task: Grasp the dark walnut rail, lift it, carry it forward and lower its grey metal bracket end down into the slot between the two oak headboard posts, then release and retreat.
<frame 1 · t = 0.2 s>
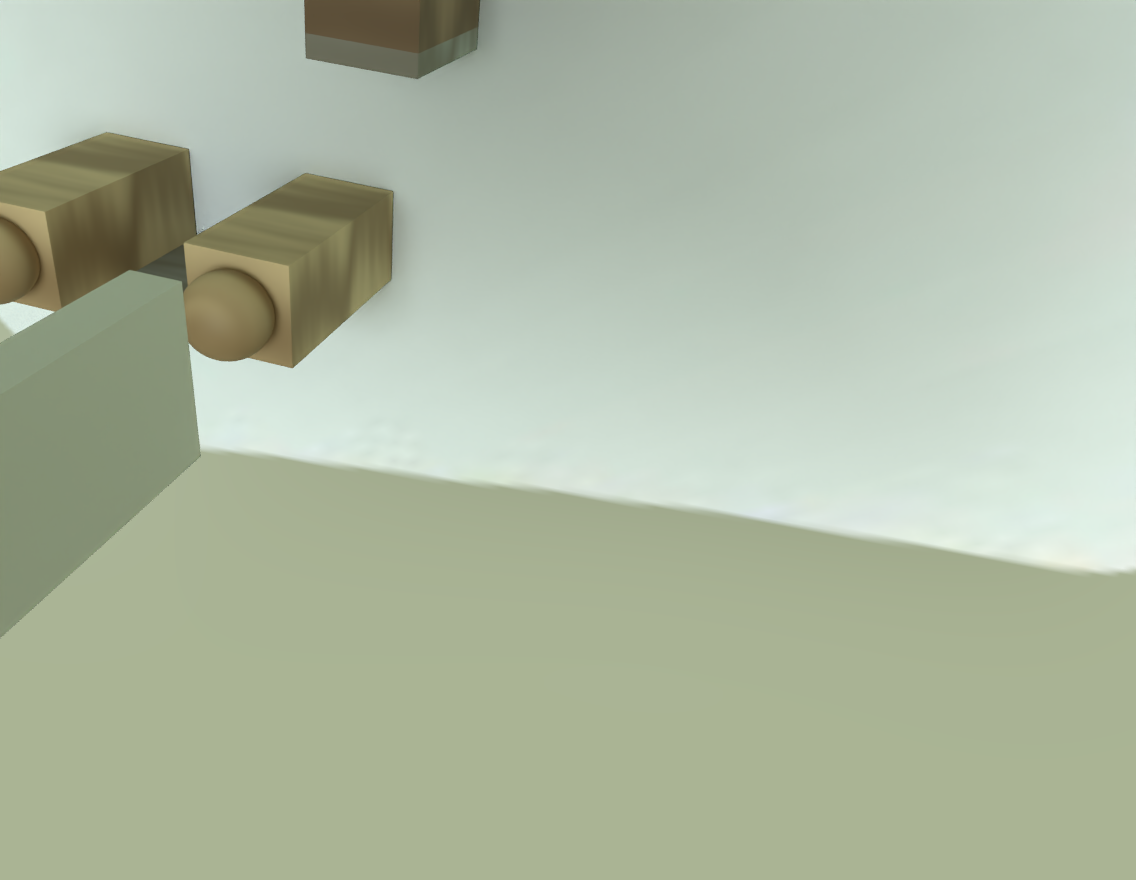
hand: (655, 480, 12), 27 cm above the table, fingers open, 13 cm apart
headboard: (249, 206, 43), on the table
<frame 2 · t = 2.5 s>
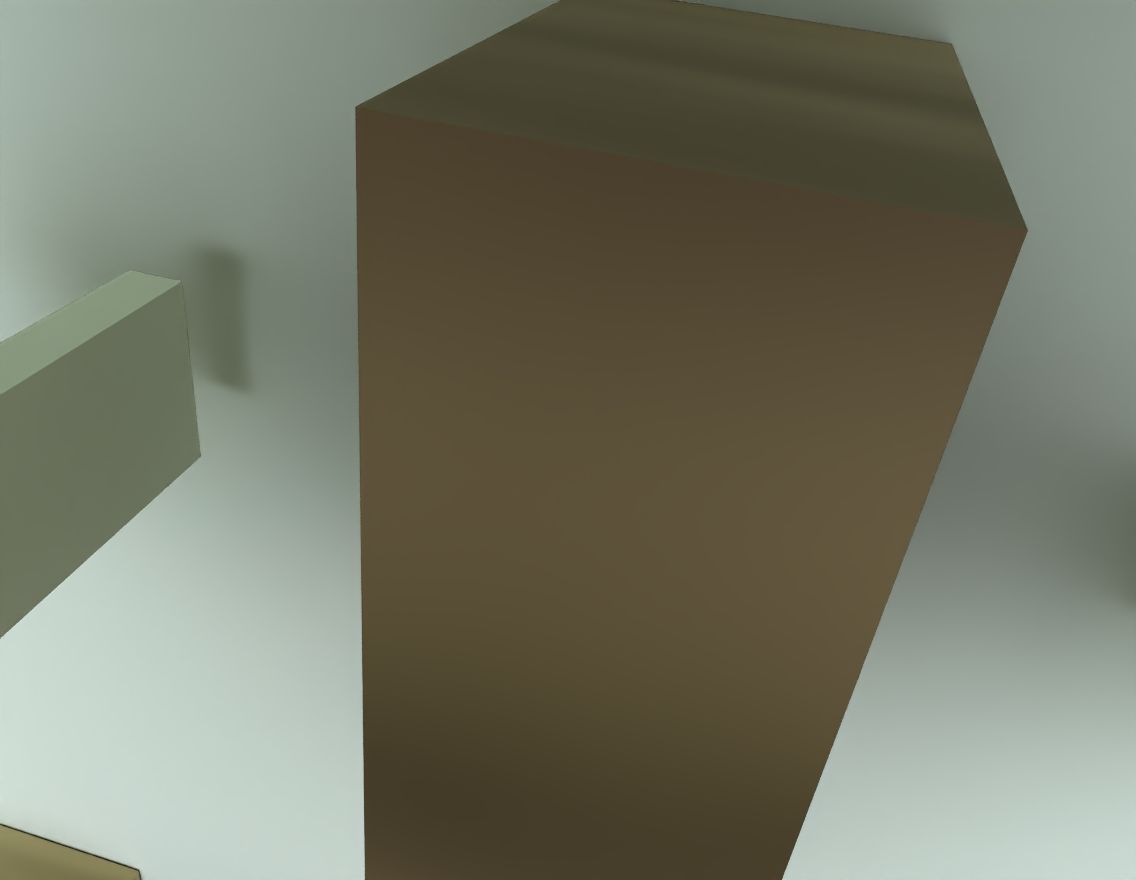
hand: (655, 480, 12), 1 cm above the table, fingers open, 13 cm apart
rail: (662, 521, 14), on the table
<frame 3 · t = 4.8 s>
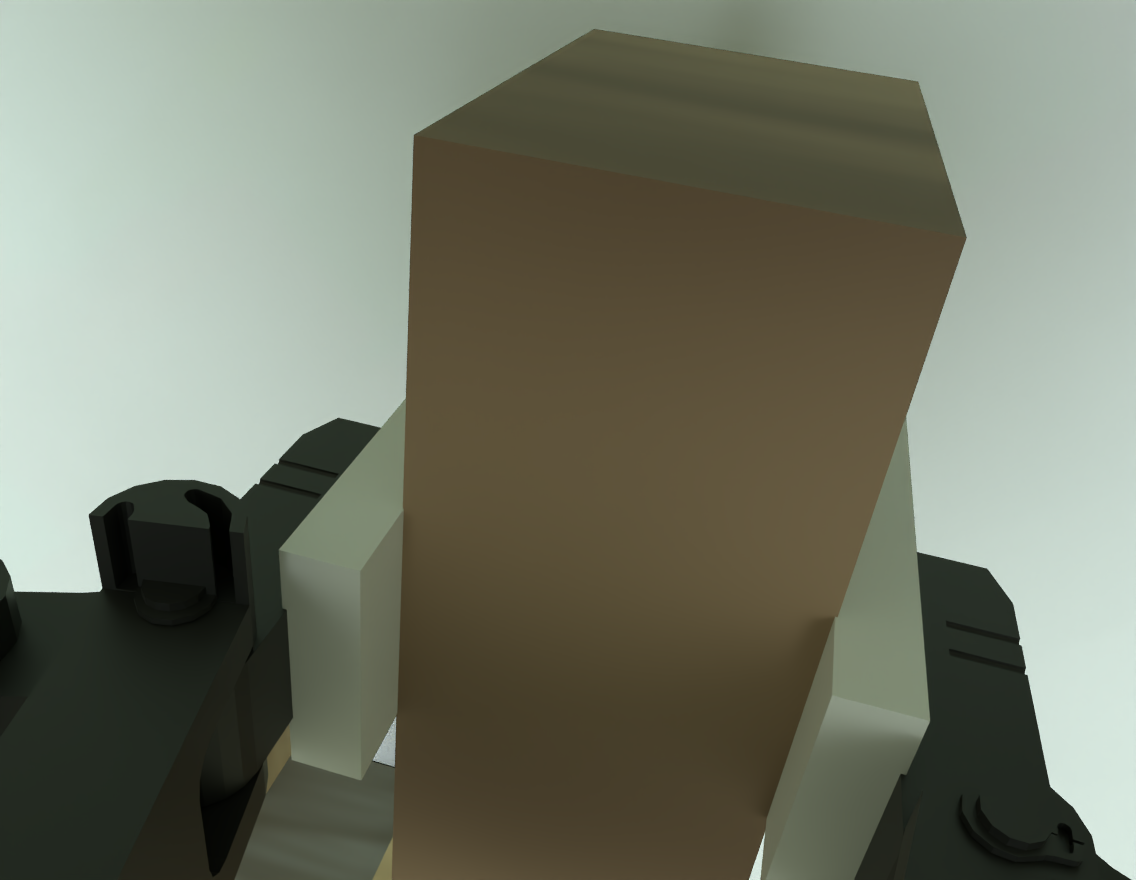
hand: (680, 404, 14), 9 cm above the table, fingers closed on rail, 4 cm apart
headboard: (375, 720, 32), on the table
rail: (660, 515, 16), point 8 cm above the table, touching gripper
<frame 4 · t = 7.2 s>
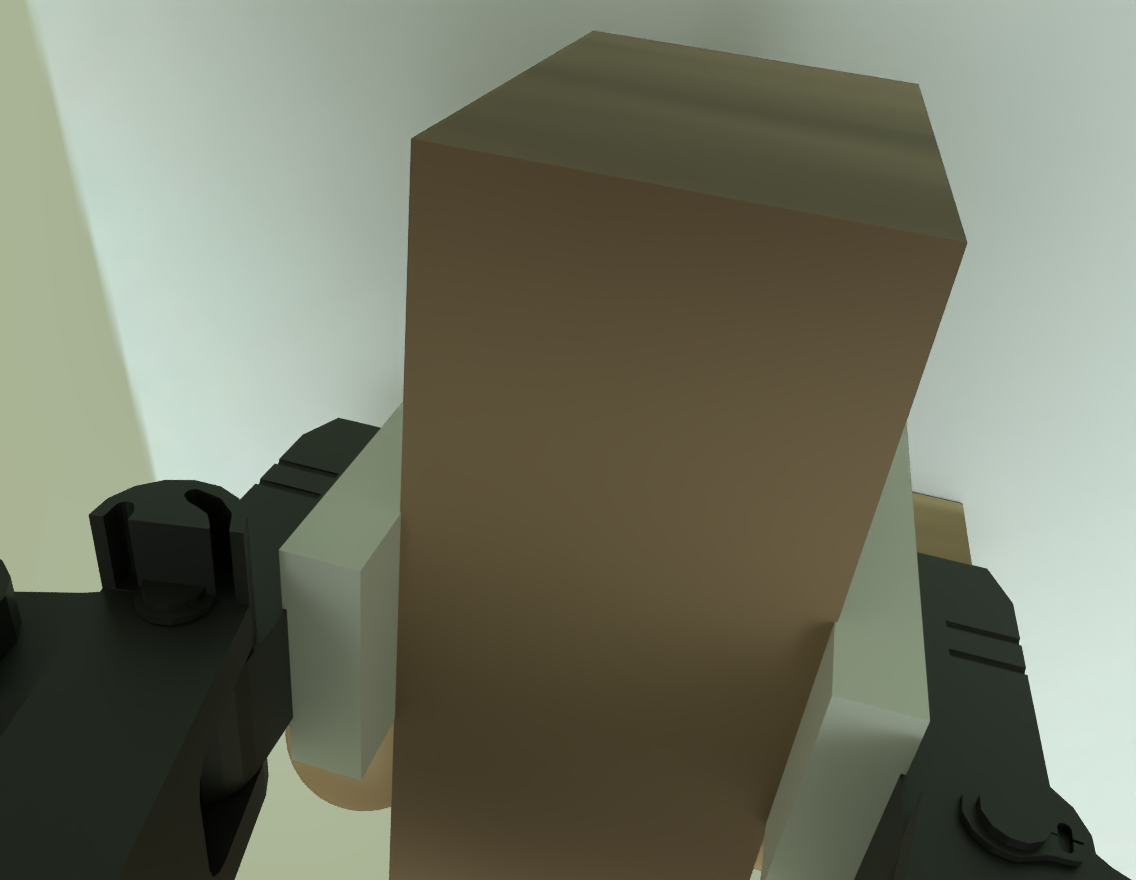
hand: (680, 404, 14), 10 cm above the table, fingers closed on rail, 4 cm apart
headboard: (683, 504, 27), on the table
rail: (659, 518, 16), point 9 cm above the table, touching gripper
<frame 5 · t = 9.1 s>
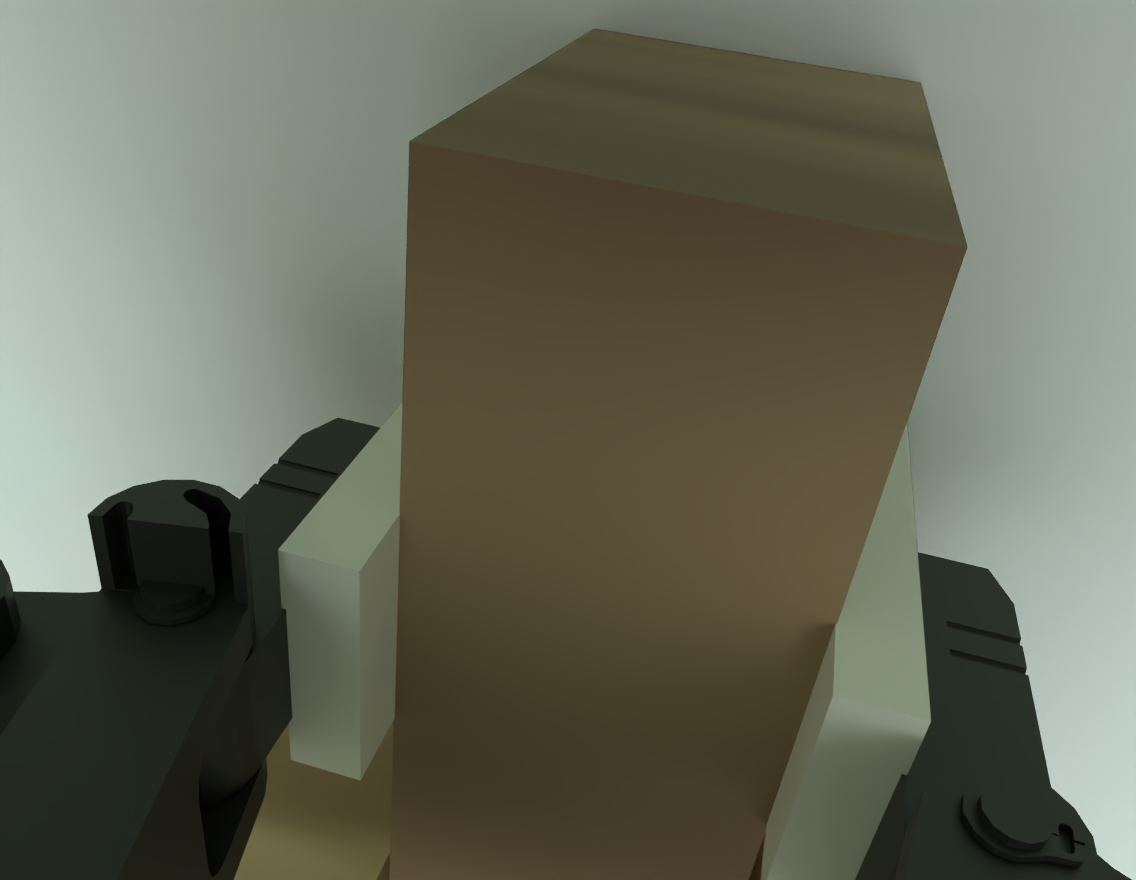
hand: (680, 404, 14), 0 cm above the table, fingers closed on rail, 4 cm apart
headboard: (609, 770, 19), on the table
rail: (660, 516, 16), on the table, touching gripper
when the fingers open (0 cm above the table, at t = 9.8 s): rail stays where it is, on the table.
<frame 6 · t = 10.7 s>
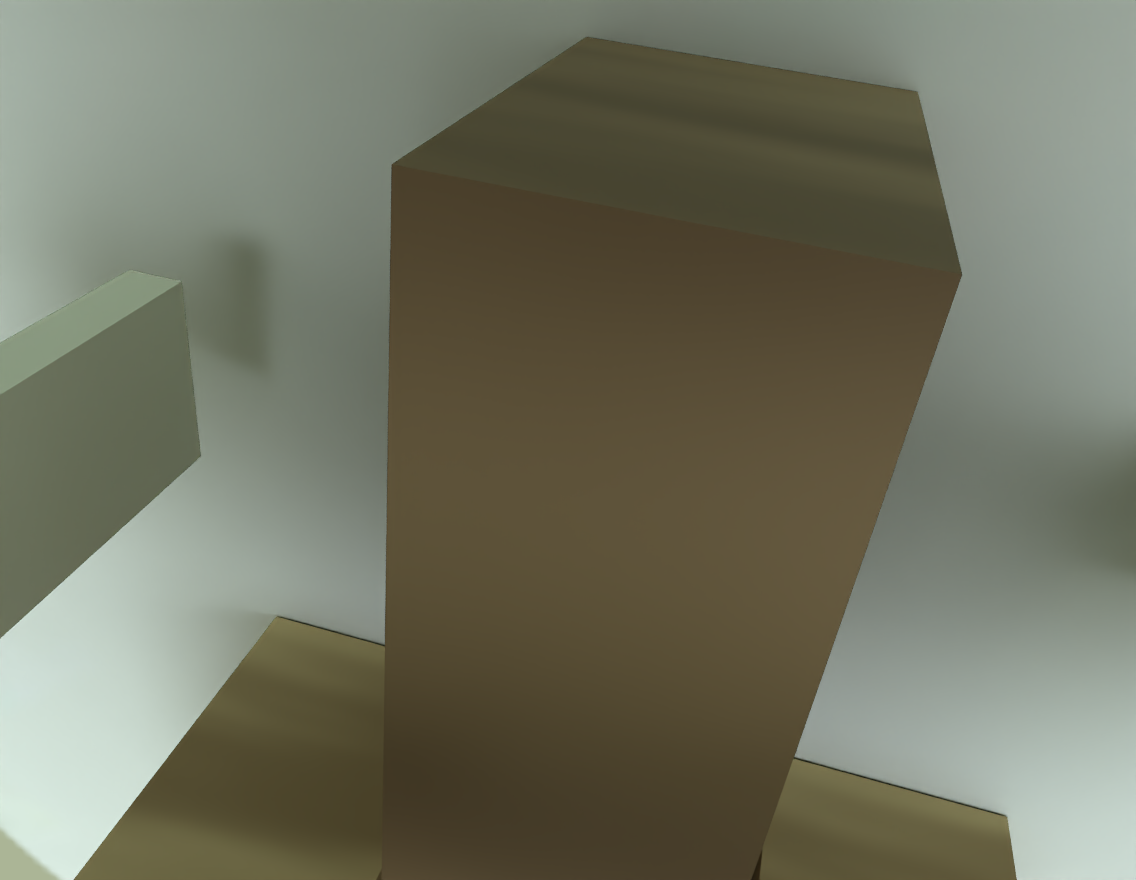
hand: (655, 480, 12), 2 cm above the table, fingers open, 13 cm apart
headboard: (605, 783, 19), on the table
rail: (655, 527, 15), on the table
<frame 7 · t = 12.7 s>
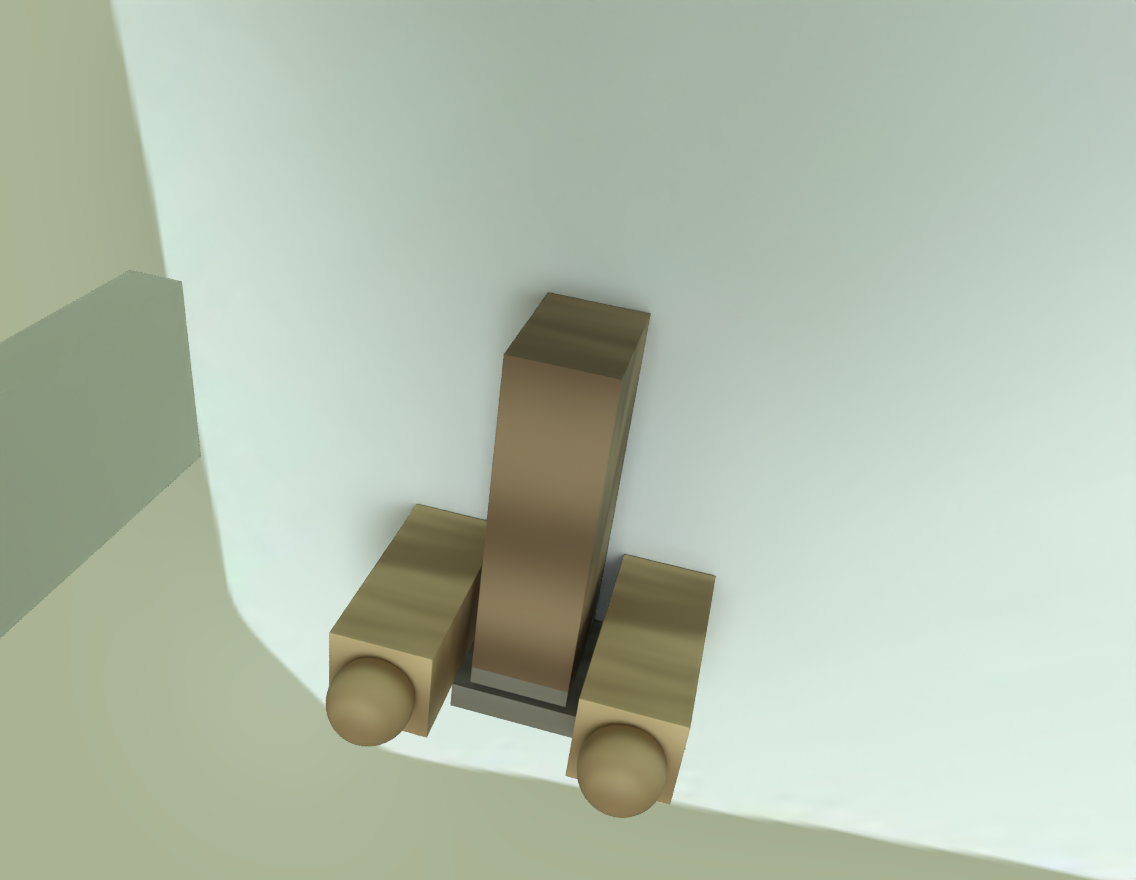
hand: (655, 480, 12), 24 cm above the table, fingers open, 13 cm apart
headboard: (557, 575, 44), on the table
rail: (575, 458, 41), on the table
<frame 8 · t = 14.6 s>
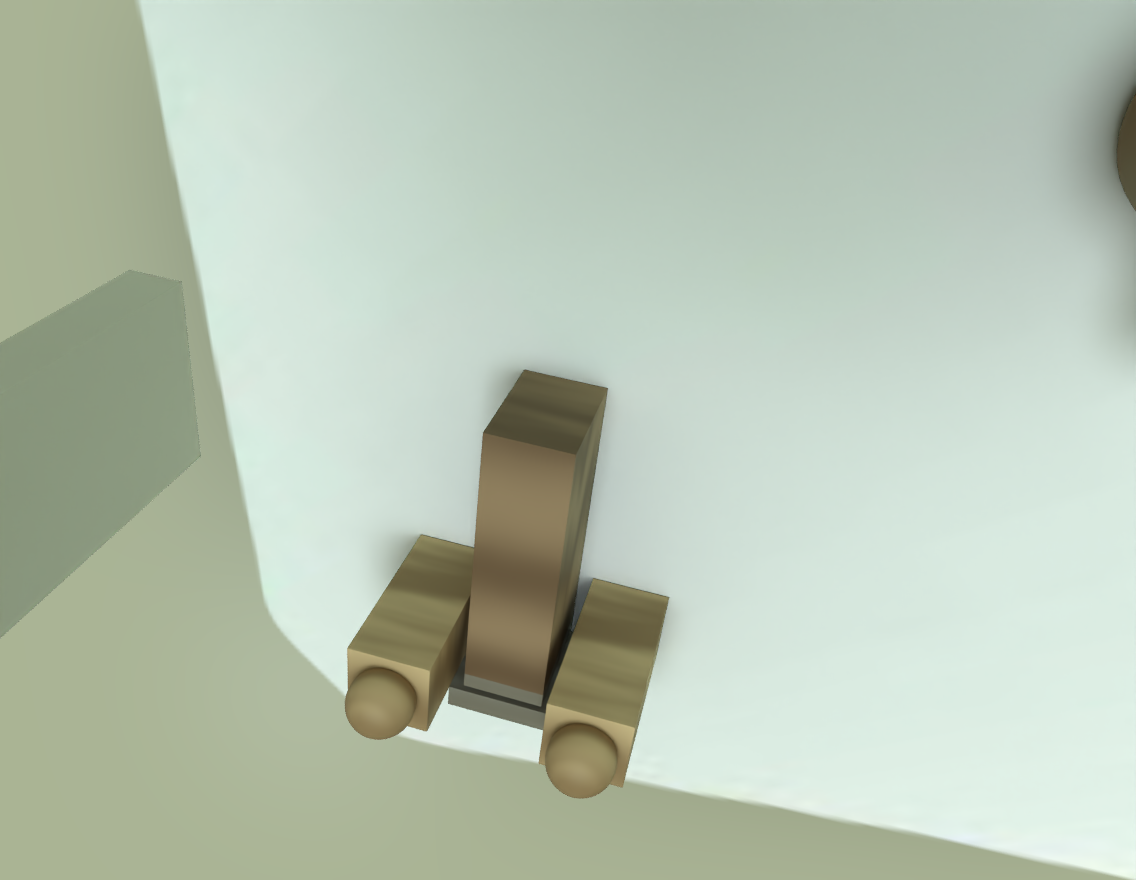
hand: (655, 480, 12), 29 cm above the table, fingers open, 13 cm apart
headboard: (538, 594, 52), on the table
rail: (550, 501, 49), on the table
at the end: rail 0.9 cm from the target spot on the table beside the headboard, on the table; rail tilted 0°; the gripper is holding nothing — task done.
